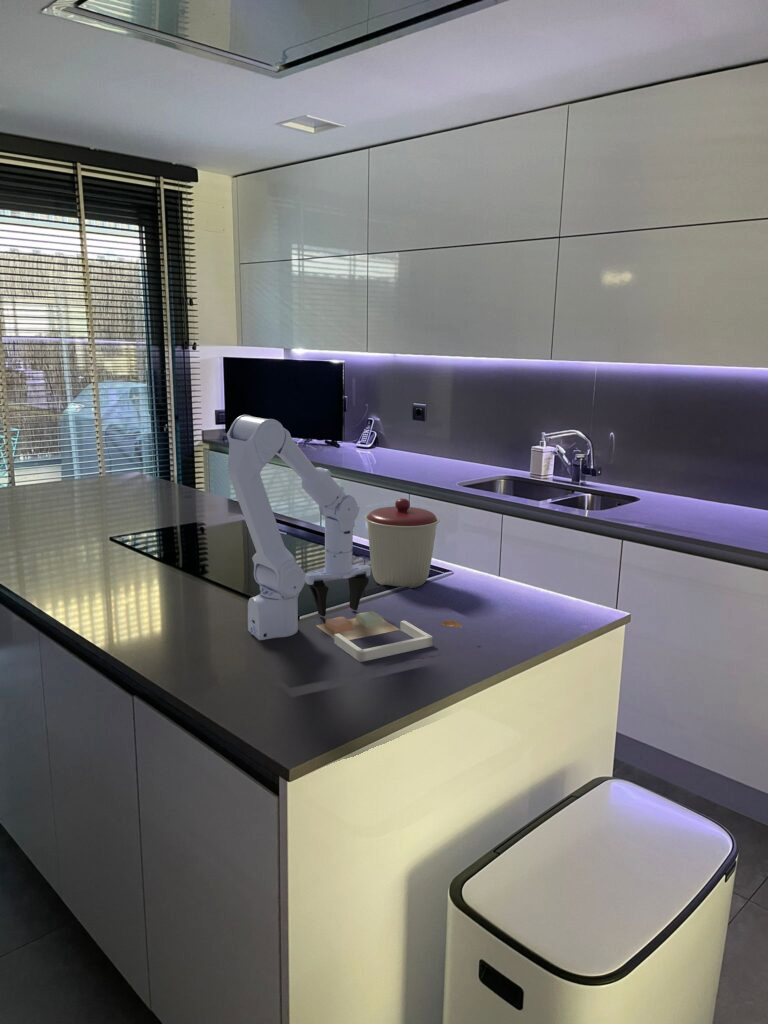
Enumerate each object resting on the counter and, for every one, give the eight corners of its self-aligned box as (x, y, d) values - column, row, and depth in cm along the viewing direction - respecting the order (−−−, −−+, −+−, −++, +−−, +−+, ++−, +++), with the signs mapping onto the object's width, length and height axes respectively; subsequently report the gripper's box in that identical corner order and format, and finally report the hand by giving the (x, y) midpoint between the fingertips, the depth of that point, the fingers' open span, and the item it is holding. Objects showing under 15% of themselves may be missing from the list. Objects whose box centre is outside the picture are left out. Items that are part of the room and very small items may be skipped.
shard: (440, 614, 170) (440, 607, 170) (474, 618, 168) (475, 610, 168) (430, 632, 160) (430, 624, 160) (466, 636, 158) (467, 628, 158)
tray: (359, 668, 140) (360, 652, 140) (334, 648, 149) (334, 634, 148) (432, 651, 149) (433, 636, 148) (404, 634, 157) (404, 620, 156)
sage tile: (365, 627, 157) (365, 620, 157) (355, 620, 160) (355, 614, 160) (382, 623, 159) (382, 616, 159) (372, 617, 163) (372, 610, 162)
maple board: (338, 647, 149) (338, 642, 149) (315, 631, 158) (315, 625, 157) (400, 635, 156) (400, 629, 156) (374, 619, 165) (374, 614, 165)
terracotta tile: (334, 633, 154) (334, 625, 153) (325, 626, 157) (325, 619, 157) (352, 629, 156) (352, 622, 155) (343, 623, 159) (343, 616, 159)
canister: (443, 576, 196) (447, 494, 192) (428, 598, 179) (431, 509, 175) (375, 569, 201) (376, 489, 196) (353, 590, 184) (355, 503, 179)
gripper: (315, 558, 154) (315, 623, 157) (378, 550, 161) (377, 612, 164) (300, 550, 160) (300, 612, 163) (361, 542, 167) (360, 602, 170)
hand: (337, 611), depth 164 cm, fingers open, 7 cm apart
